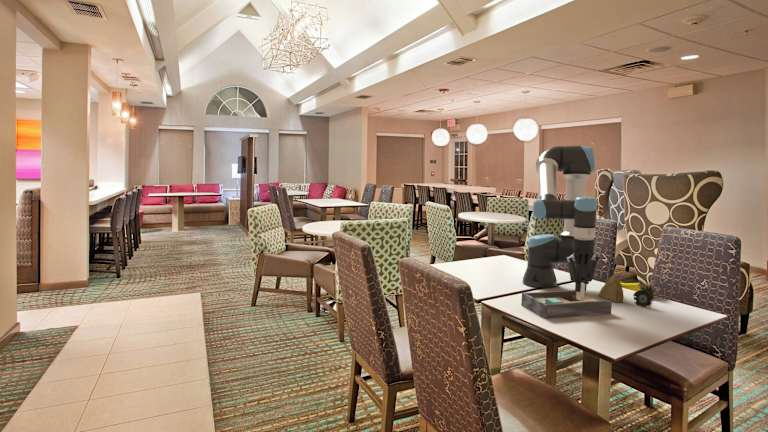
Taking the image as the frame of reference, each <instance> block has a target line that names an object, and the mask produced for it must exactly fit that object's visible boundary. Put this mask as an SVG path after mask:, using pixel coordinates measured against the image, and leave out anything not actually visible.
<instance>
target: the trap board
mask: <svg viewBox="0 0 768 432" xmlns="http://www.w3.org/2000/svg"><path fill="white" fill-rule="evenodd" d="M586 292H587V290H586V291H585V293H586ZM576 293H577V291H575V289H573V290H572V289H571V290H556V291H555V290H554V291H536V292H535V291H533V292H521V303H520V305H521V307H524V308H525V309H527V310H528V311H530V312H532V313H534V314H535V315H538V316H539V317H541V318H543V319H557V318H558V319H559V318H569V317H570V318H571V317H584V316H599V315H600V316H601V315H611V314H612V305H613V301H612V300H609V299H605V300H598V299H595V298H594V297H591V296H588V295H586V294H585V295H584V301H580V300H577V299H576ZM546 298H556V299H558V300H560V301H562V302H563V303H555V304H545V299H546Z"/></svg>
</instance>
